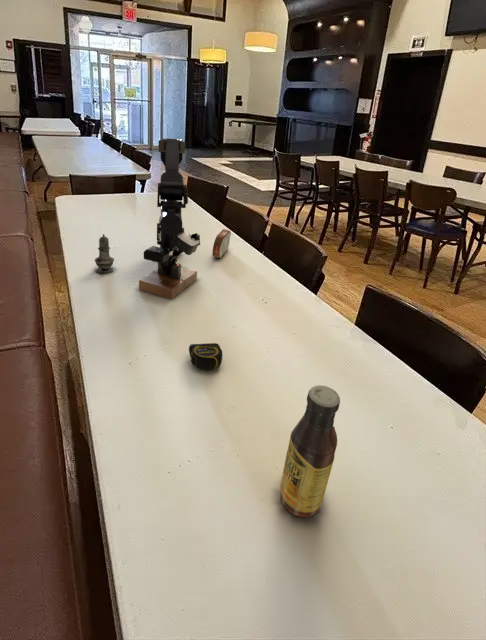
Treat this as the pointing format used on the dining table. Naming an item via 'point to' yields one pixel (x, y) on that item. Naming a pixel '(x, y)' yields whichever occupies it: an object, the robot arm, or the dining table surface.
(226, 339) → the dining table surface
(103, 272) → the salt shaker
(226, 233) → the brown white rounded block
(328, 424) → the sauce bottle
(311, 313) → the dining table surface
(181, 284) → the wooden block
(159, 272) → the dark grey block
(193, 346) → the tape measure
